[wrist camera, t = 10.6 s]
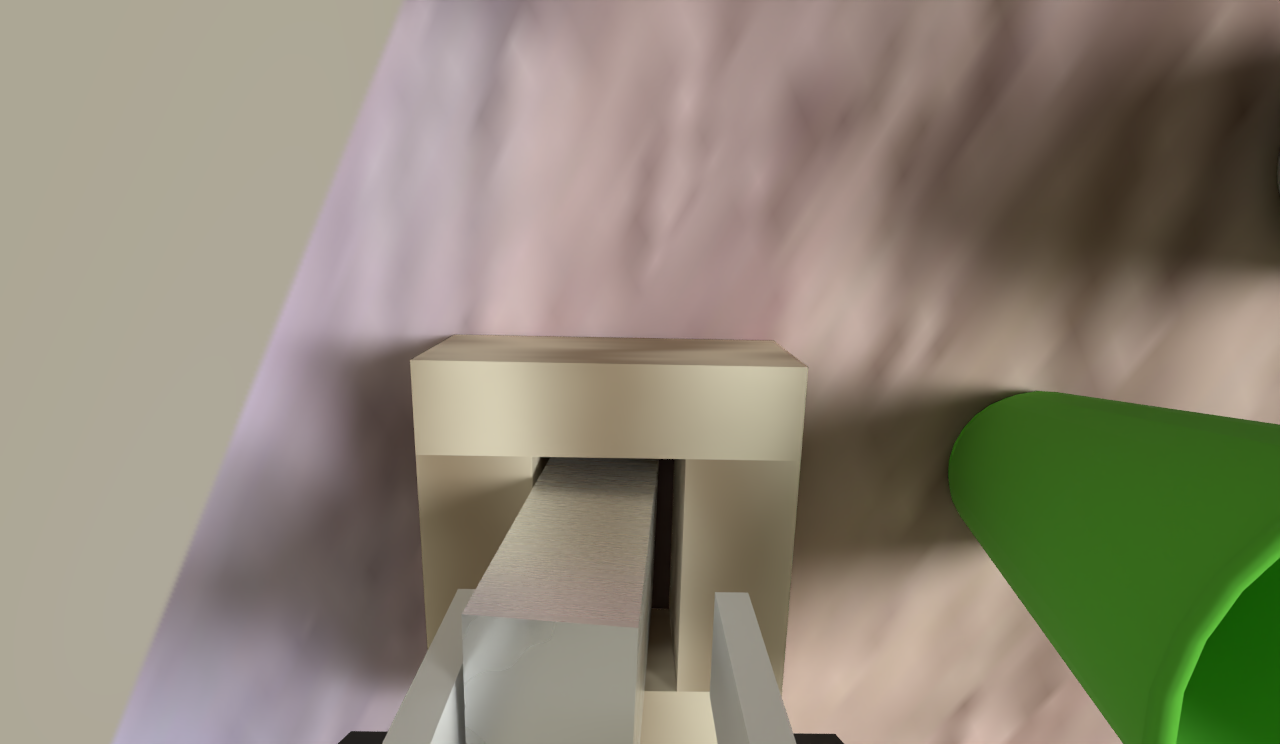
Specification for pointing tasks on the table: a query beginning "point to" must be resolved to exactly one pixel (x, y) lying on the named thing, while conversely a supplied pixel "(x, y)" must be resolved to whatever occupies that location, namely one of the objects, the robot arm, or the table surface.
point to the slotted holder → (622, 428)
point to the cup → (1138, 555)
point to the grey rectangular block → (566, 610)
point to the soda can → (1278, 173)
